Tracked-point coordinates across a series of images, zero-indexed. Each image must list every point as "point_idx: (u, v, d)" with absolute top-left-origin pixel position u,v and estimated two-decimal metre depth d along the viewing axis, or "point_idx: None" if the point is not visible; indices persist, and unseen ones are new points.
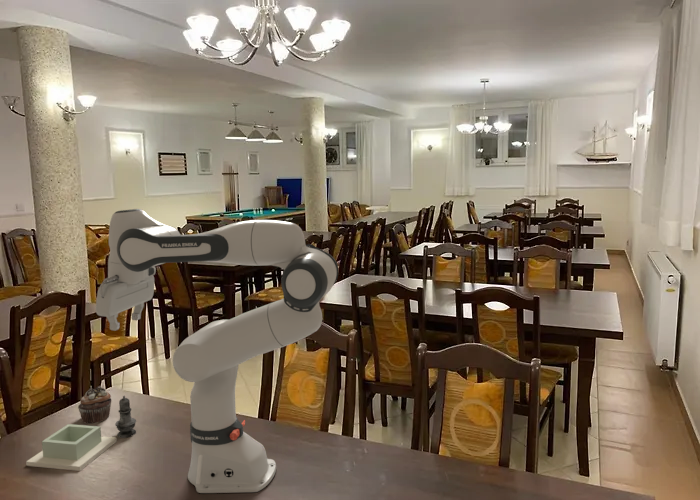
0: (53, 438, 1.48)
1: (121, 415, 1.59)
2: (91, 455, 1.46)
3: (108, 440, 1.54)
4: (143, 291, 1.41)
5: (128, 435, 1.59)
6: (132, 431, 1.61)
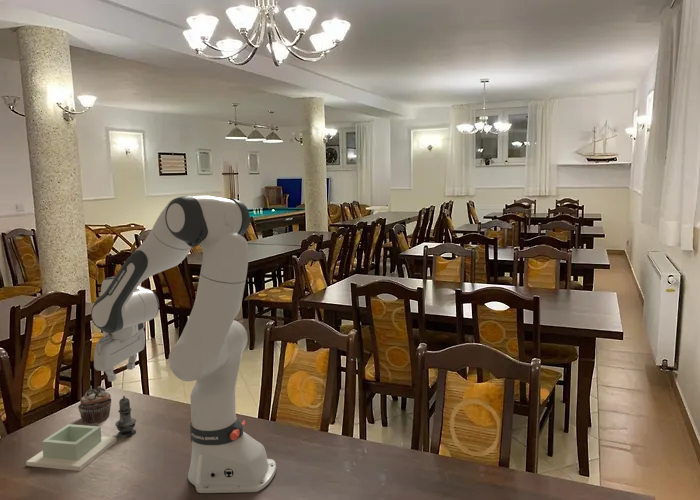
0: (53, 438, 1.48)
1: (121, 415, 1.59)
2: (91, 455, 1.46)
3: (108, 440, 1.54)
4: (135, 344, 1.62)
5: (128, 435, 1.59)
6: (132, 431, 1.61)
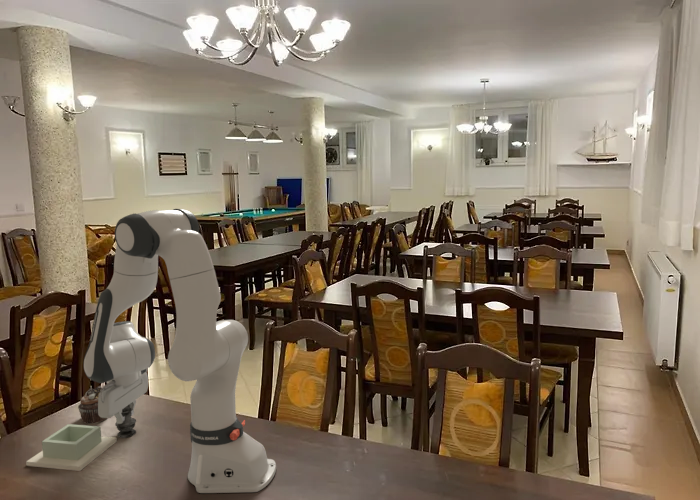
0: (53, 438, 1.48)
1: None
2: (91, 455, 1.46)
3: (108, 440, 1.54)
4: (138, 388, 1.64)
5: (128, 435, 1.59)
6: (132, 431, 1.61)
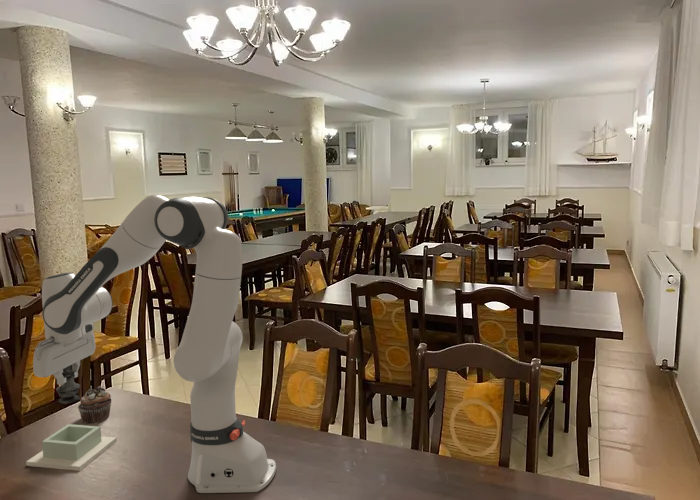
0: (53, 438, 1.48)
1: None
2: (91, 455, 1.46)
3: (108, 440, 1.54)
4: (83, 347, 1.50)
5: (70, 401, 1.46)
6: (75, 397, 1.48)
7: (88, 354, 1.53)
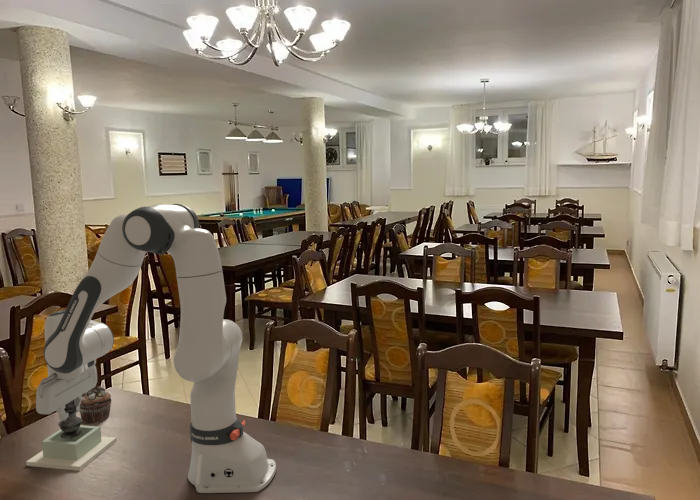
0: (53, 438, 1.48)
1: None
2: (91, 455, 1.46)
3: (108, 440, 1.54)
4: (85, 382, 1.52)
5: (72, 436, 1.47)
6: (77, 431, 1.49)
7: (90, 388, 1.54)
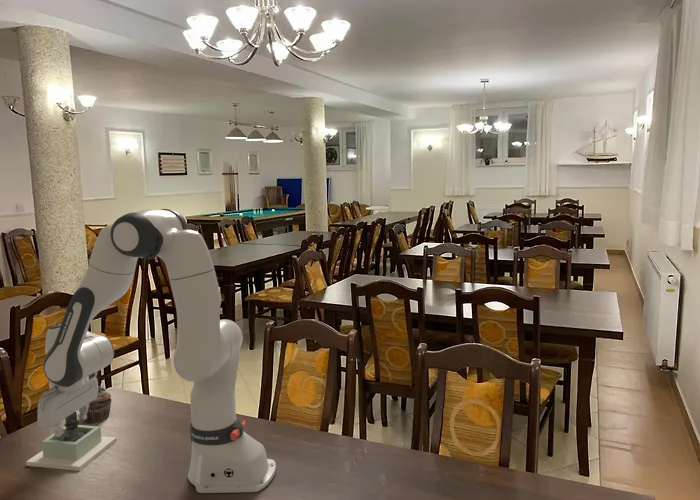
0: (53, 438, 1.48)
1: (67, 429, 1.48)
2: (91, 455, 1.46)
3: (108, 440, 1.54)
4: (86, 394, 1.52)
5: None
6: None
7: (91, 399, 1.54)
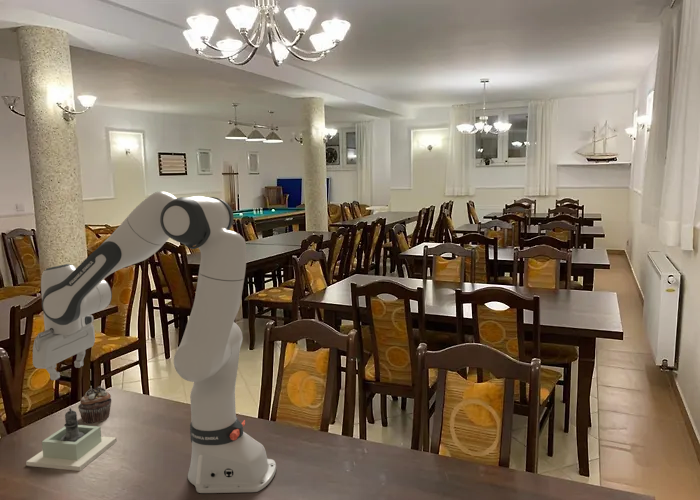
0: (53, 438, 1.48)
1: (67, 429, 1.48)
2: (91, 455, 1.46)
3: (108, 440, 1.54)
4: (82, 340, 1.50)
5: None
6: None
7: (88, 346, 1.52)
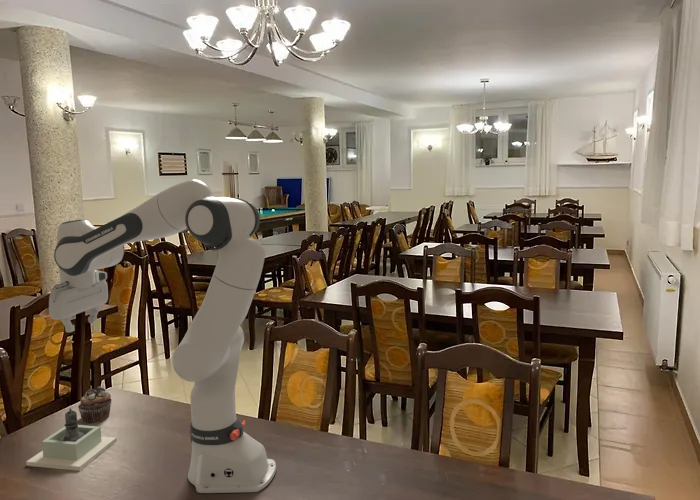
0: (53, 438, 1.48)
1: (67, 429, 1.48)
2: (91, 455, 1.46)
3: (108, 440, 1.54)
4: (96, 295, 1.53)
5: None
6: None
7: (101, 303, 1.55)
